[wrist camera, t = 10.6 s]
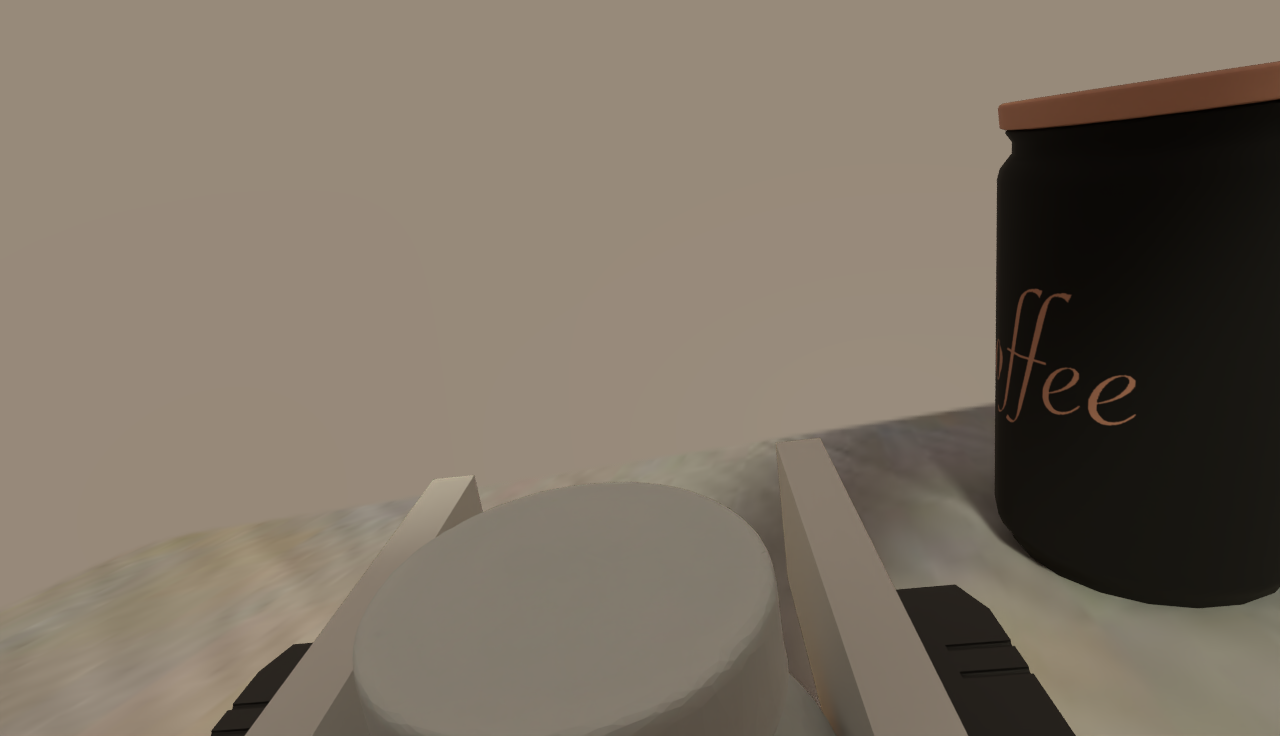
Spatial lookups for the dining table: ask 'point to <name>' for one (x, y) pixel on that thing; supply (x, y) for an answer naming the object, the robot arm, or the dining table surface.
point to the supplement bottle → (584, 624)
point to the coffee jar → (1143, 336)
